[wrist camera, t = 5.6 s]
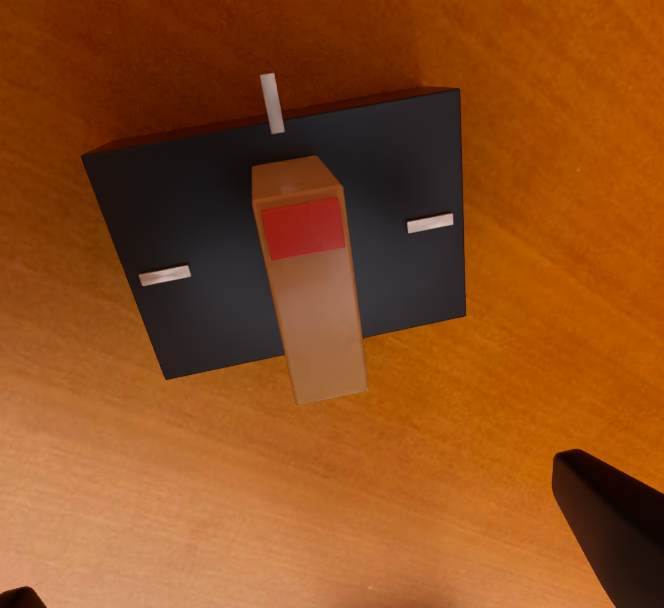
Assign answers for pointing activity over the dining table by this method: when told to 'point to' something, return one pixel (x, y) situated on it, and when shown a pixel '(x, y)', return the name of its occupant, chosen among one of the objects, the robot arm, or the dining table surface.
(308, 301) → the tan block
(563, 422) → the dining table surface
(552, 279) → the dining table surface
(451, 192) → the knob panel
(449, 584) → the dining table surface
